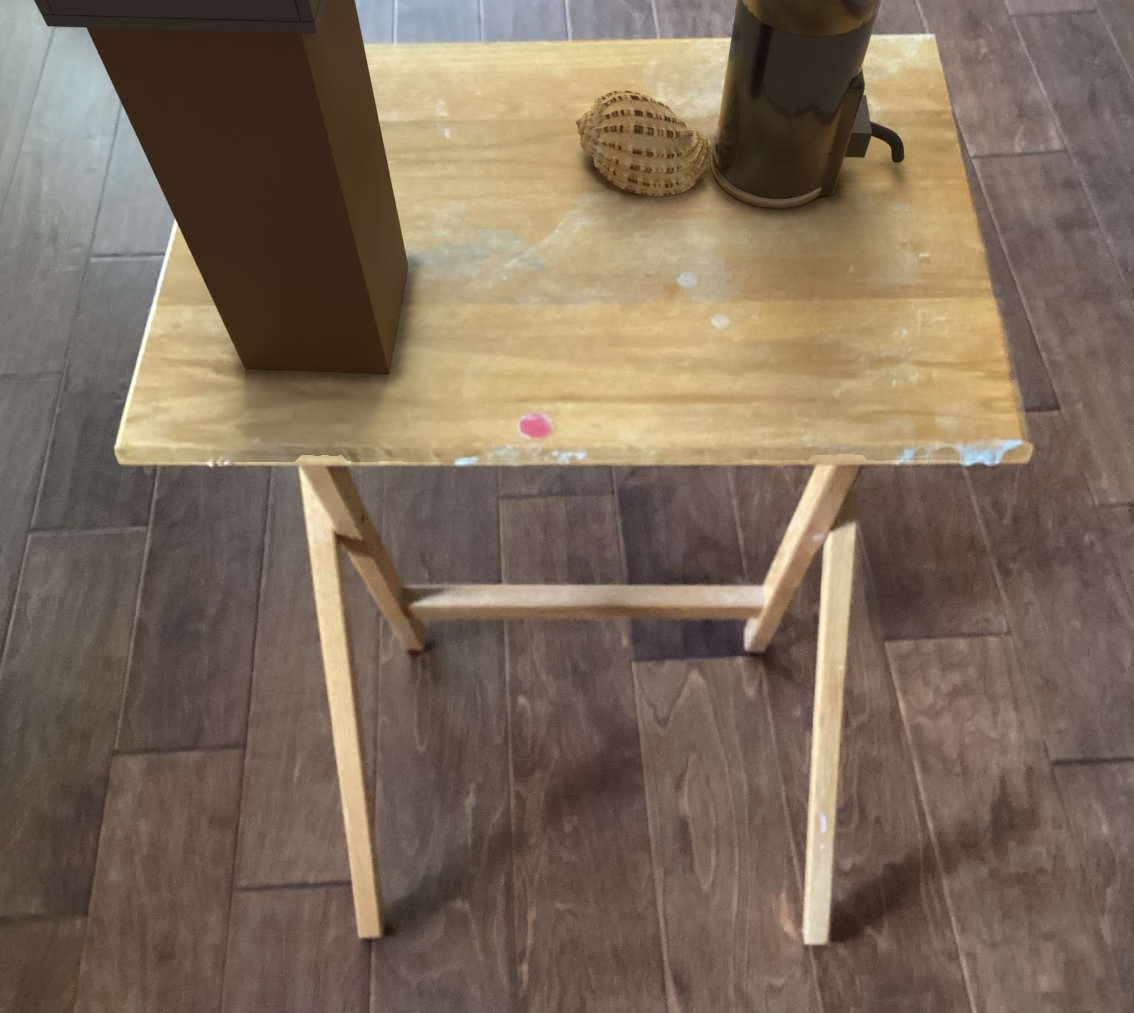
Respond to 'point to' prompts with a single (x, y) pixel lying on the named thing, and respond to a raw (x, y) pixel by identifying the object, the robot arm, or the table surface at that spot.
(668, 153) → the seashell
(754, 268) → the table surface
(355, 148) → the bin
